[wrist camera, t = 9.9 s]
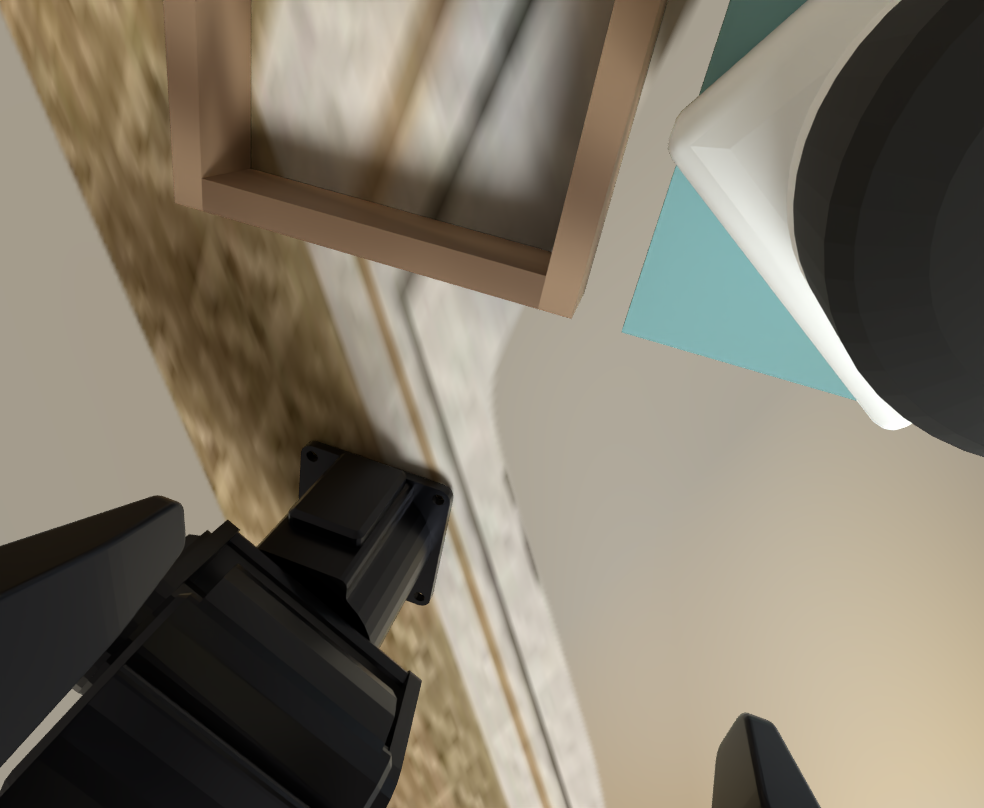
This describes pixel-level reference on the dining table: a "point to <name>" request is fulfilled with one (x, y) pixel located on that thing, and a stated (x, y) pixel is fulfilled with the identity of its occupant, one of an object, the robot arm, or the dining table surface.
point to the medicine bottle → (862, 195)
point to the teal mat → (722, 259)
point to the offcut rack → (377, 228)
